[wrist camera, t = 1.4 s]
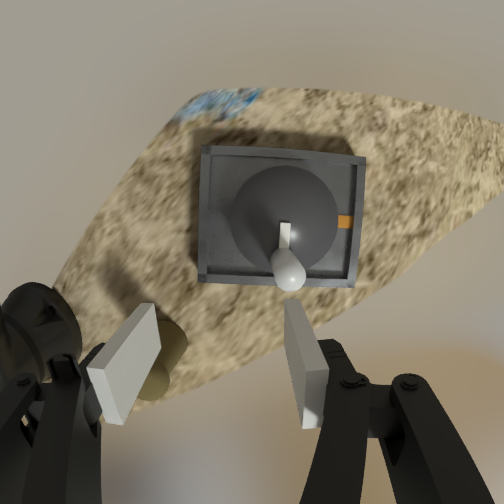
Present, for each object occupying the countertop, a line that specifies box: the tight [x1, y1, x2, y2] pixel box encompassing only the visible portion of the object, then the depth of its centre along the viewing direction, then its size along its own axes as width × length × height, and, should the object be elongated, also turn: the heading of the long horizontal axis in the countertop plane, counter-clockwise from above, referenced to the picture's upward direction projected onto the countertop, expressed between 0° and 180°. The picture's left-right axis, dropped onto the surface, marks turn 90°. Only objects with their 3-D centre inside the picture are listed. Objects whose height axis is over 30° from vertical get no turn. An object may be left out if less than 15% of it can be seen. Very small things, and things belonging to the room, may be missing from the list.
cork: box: [137, 320, 188, 401], centre depth 33 cm, size 6×6×11 cm
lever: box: [230, 166, 338, 292], centre depth 29 cm, size 11×11×9 cm
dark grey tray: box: [198, 145, 366, 288], centre depth 34 cm, size 18×15×3 cm
